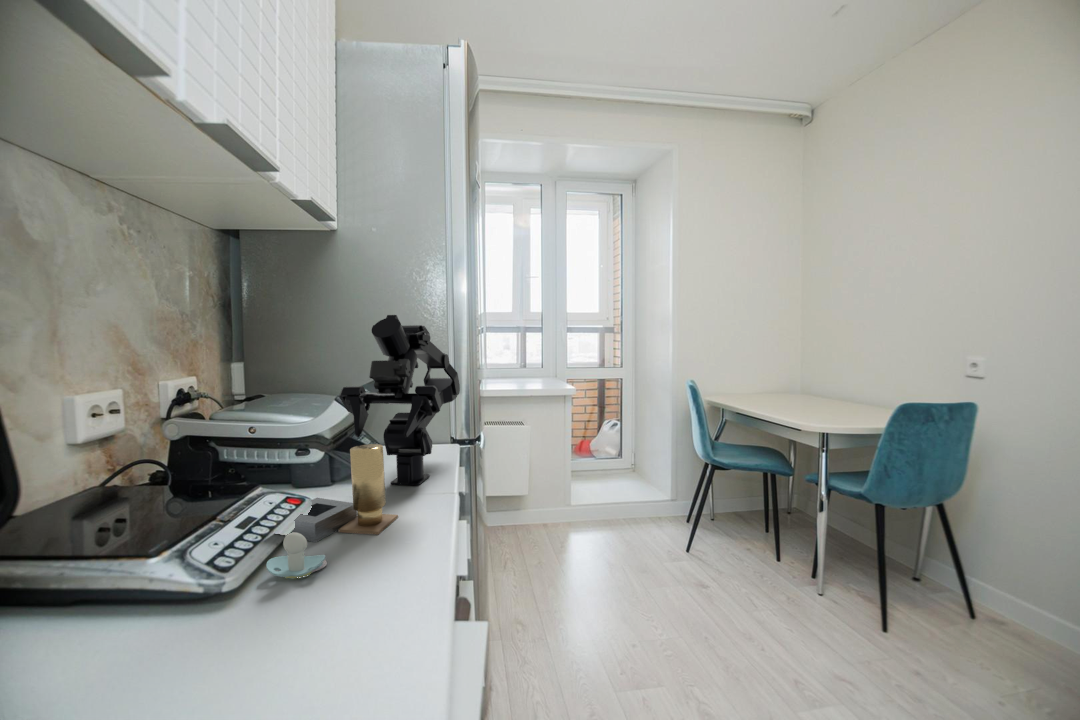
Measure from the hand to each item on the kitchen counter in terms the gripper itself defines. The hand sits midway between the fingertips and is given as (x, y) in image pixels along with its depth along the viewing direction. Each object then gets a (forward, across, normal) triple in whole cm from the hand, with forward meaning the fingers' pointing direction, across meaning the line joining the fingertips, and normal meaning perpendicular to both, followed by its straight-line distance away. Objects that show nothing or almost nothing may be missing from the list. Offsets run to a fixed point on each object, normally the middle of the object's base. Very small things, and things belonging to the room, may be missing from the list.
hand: (381, 435), depth 86 cm
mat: (+15, 0, +4) cm, 16 cm away
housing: (+16, -8, +4) cm, 18 cm away
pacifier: (+26, -3, -6) cm, 27 cm away
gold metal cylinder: (+15, +1, +4) cm, 15 cm away
